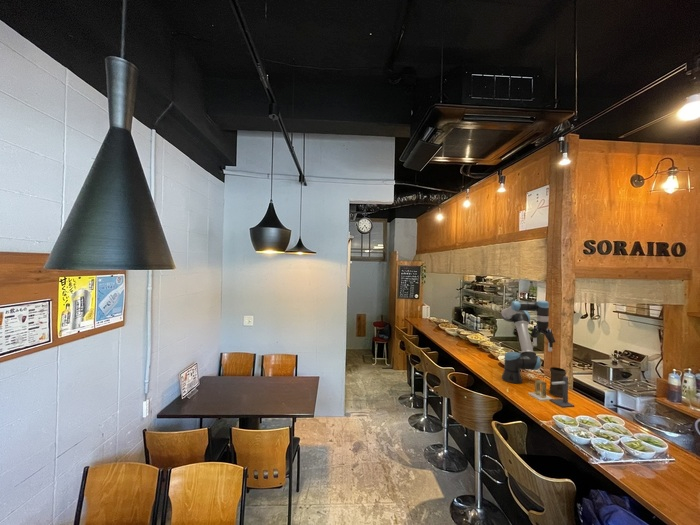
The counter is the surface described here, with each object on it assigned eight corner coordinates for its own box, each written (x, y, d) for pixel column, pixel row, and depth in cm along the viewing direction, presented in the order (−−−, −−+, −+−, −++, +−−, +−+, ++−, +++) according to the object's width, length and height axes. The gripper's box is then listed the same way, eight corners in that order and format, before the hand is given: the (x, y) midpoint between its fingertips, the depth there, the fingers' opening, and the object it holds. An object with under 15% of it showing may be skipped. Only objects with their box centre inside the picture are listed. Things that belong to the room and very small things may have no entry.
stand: (546, 401, 207) (546, 375, 207) (561, 399, 209) (561, 374, 209) (558, 408, 197) (558, 380, 197) (574, 406, 199) (574, 379, 199)
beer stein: (570, 399, 210) (569, 371, 212) (553, 397, 213) (553, 370, 214) (559, 391, 225) (558, 365, 227) (544, 389, 228) (543, 364, 229)
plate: (528, 394, 217) (528, 392, 217) (540, 393, 219) (540, 391, 219) (540, 401, 206) (540, 399, 206) (553, 400, 208) (553, 398, 208)
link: (534, 393, 216) (535, 379, 216) (538, 393, 216) (538, 378, 216) (542, 397, 209) (542, 383, 209) (546, 397, 210) (546, 382, 210)
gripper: (525, 318, 230) (525, 344, 230) (552, 324, 206) (552, 353, 206) (533, 317, 232) (533, 343, 232) (561, 324, 207) (561, 353, 207)
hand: (542, 348), depth 219 cm, fingers open, 13 cm apart
